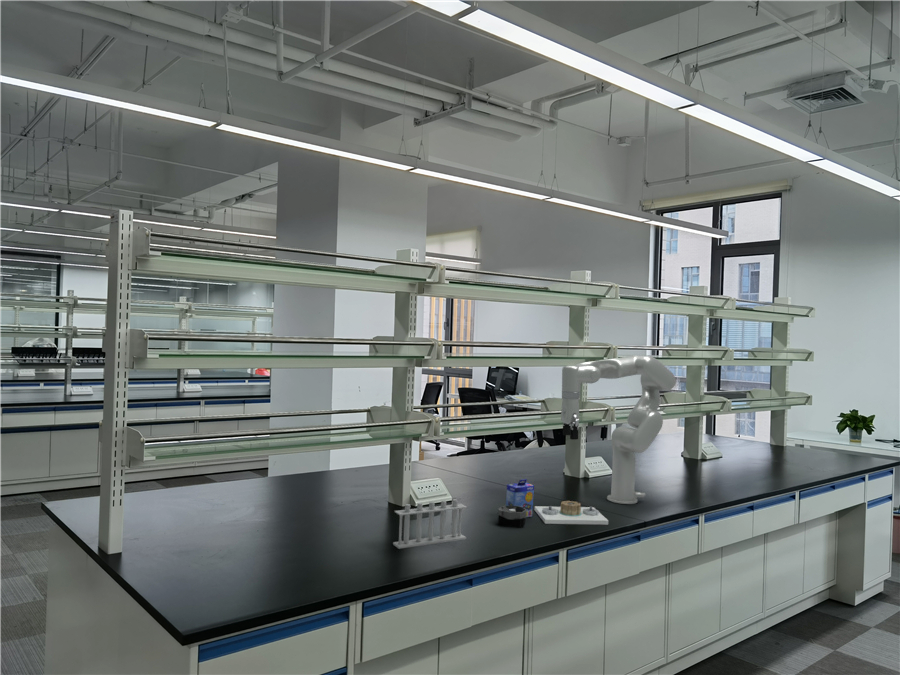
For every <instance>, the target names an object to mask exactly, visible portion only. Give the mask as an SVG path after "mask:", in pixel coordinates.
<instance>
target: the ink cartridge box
mask: <svg viewBox="0 0 900 675" xmlns="http://www.w3.org/2000/svg"><path fill="white" fill-rule="evenodd" d="M527 481H528V479H527V478H524V479H519V481H518V482H517V483H509V484H506V499H505V500H506V501H505V506H507V505H512V506H520V507H523V508H525V509H526V510H527V512H526V518H530V517H533V510H534V509H533V508H534V496H535V493H534V492H535V485H534V484H532V483H528V482H527Z"/></svg>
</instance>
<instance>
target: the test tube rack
mask: <svg viewBox="0 0 900 675" xmlns="http://www.w3.org/2000/svg"><path fill="white" fill-rule="evenodd" d="M458 502H459V499H457V498H455V499H452V504H447V500H443V499H441V501H440V505H438V506H435V505H436V504H435V501H429V503H428V504H429V505H428V506H429V507H428V506H427V507H423V502H418V503H417V505H416V508H411V504H410V503H406V504H405V505H404V509H400V510H394V513H396V515H399V528H398V530H399V531H398V541H393V542H392V545H393V546H394V547H396V548H397V549H399V550H400V549H405V548H406V549H407V548H413V547H421V546H426V545H427V546H428V545H434V544H441V543H449V542H455V541H456V542H457V541H462V540H467V536H465V535H464V534H462V533H461V531H462V515H463V514H462V513H463V512H462V510H463V509H467V508H468V506H466V505H464V504H463V503H458ZM447 511H451V528H450V529H451V531H450V532H451V534H446V517H447ZM458 511H459V512H458ZM435 512H440V519H439V520H440V522H439V524H440V525H439V535H437V536H434V528H435V526H434V525H435ZM425 513H426V514H427V513H428V523H427V524H428V527H427V529H428V530H427V537H424V538H423V537H422V530H423V529H422V525H423V514H425ZM411 515H416V523H415V524H416V525H415V526H416V530H415V539H410V528H411V527H410V524H411V522H410V521H411ZM403 516H404V518H403ZM403 519H404V520H403ZM403 521H404V522H403ZM403 523H404V524H403ZM457 527H458V532H457ZM402 528H403V529H402ZM402 530H403V531H402ZM402 533H403V534H402ZM402 535H403V540H402Z"/></svg>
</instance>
